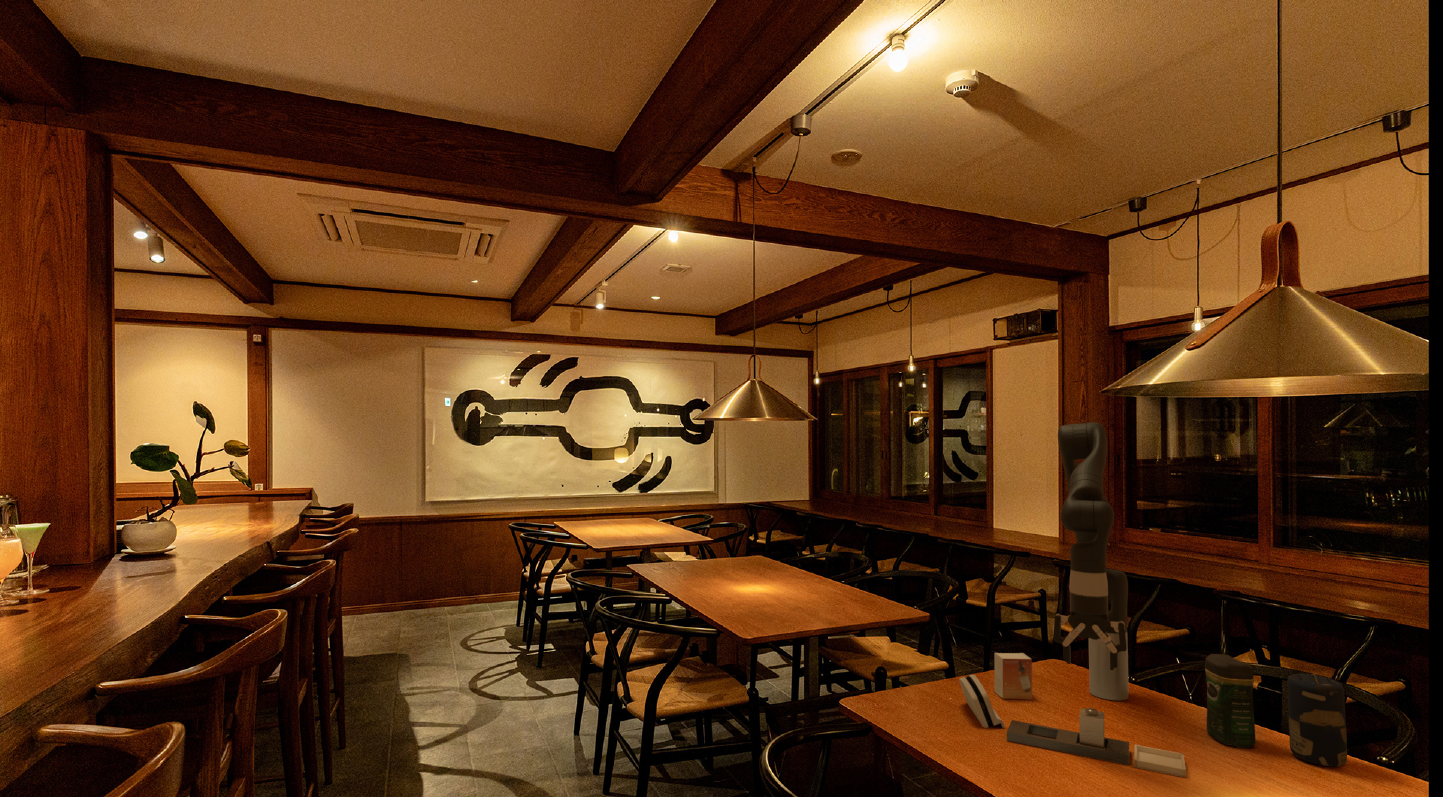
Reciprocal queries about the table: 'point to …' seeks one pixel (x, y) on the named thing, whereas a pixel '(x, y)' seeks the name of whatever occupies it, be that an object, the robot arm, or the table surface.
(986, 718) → the beige device enclosure
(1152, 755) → the parts tray
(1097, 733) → the grey rectangular block
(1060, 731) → the rack rail
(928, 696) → the table surface
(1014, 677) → the small box
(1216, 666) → the coffee jar
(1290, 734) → the canister
